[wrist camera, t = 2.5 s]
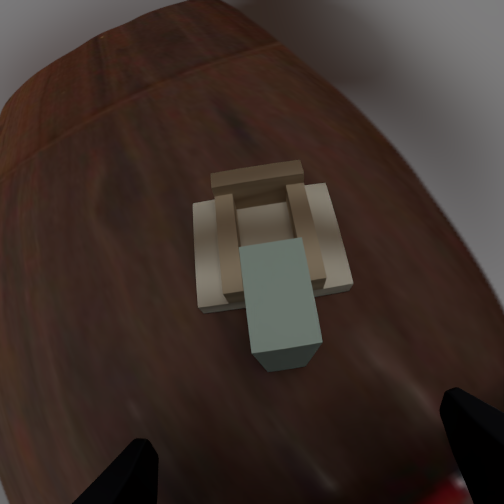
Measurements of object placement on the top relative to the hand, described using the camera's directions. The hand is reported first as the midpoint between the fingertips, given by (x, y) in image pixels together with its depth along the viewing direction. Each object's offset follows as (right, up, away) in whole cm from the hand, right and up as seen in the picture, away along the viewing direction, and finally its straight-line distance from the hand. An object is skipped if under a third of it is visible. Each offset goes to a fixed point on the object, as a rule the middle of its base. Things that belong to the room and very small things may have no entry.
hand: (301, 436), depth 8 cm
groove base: (0, +5, +15) cm, 16 cm away
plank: (+1, 0, +12) cm, 12 cm away
